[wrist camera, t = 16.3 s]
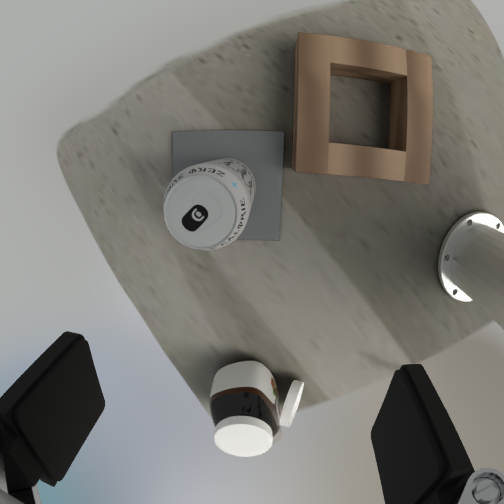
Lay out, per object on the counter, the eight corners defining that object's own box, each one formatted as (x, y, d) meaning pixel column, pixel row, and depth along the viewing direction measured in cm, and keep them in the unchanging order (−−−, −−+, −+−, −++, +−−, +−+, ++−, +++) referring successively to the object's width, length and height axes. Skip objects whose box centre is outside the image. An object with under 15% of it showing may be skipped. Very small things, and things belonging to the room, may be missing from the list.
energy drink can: (267, 185, 34) (268, 214, 20) (228, 223, 35) (202, 276, 21) (228, 146, 33) (198, 144, 18) (189, 185, 34) (137, 213, 20)
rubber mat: (283, 132, 32) (284, 131, 32) (279, 239, 36) (279, 240, 36) (174, 131, 33) (172, 131, 32) (175, 235, 37) (174, 237, 36)
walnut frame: (412, 65, 29) (430, 56, 24) (409, 179, 33) (428, 184, 28) (294, 47, 29) (298, 32, 24) (291, 168, 34) (295, 172, 29)
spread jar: (209, 360, 42) (193, 420, 31) (287, 338, 40) (292, 400, 29) (242, 415, 45) (236, 473, 34) (312, 398, 44) (320, 458, 33)
